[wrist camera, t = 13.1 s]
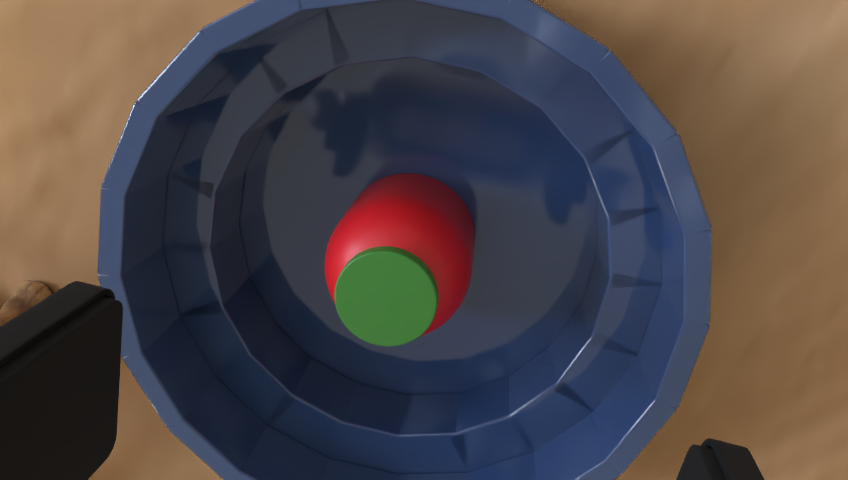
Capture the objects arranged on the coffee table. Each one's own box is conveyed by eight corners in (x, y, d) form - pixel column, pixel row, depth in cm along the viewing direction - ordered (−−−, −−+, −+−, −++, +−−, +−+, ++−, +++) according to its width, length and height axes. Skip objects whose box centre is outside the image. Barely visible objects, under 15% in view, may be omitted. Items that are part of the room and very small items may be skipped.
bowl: (733, 40, 18) (815, 54, 13) (583, 475, 23) (605, 598, 18) (210, -72, 18) (110, -97, 14) (172, 378, 23) (89, 474, 19)
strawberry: (488, 188, 19) (485, 242, 15) (459, 308, 21) (448, 389, 16) (357, 159, 19) (316, 204, 15) (336, 280, 21) (293, 353, 16)
